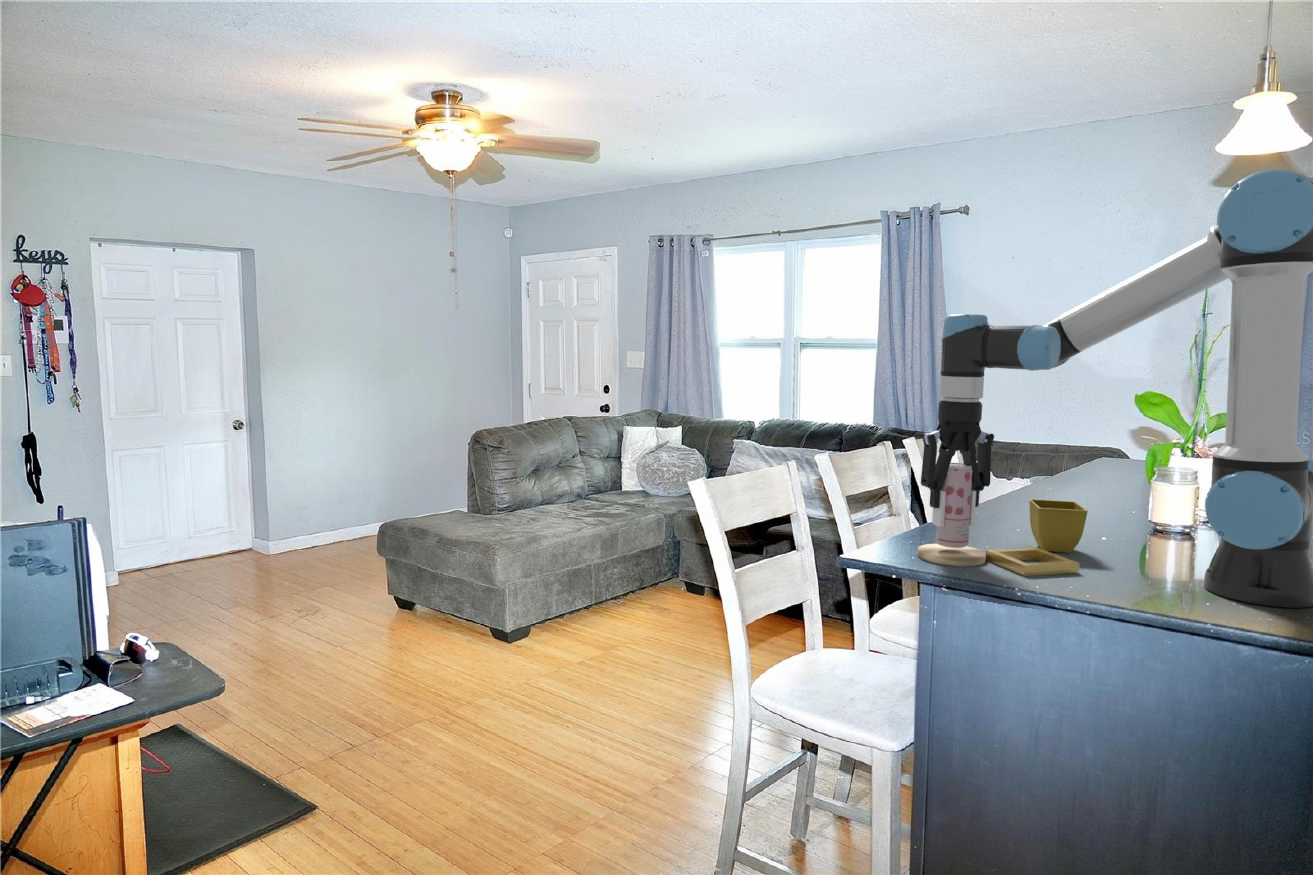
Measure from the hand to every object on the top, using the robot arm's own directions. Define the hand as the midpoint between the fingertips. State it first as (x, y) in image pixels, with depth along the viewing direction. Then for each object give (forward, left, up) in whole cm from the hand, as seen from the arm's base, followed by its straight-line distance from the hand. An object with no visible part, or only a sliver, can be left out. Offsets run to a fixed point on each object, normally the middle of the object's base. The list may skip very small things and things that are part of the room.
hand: (953, 524), depth 158 cm
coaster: (0, 0, -6) cm, 6 cm away
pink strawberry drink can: (0, 0, -4) cm, 4 cm away
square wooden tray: (-8, -11, -6) cm, 15 cm away
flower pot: (+2, -24, -7) cm, 25 cm away
